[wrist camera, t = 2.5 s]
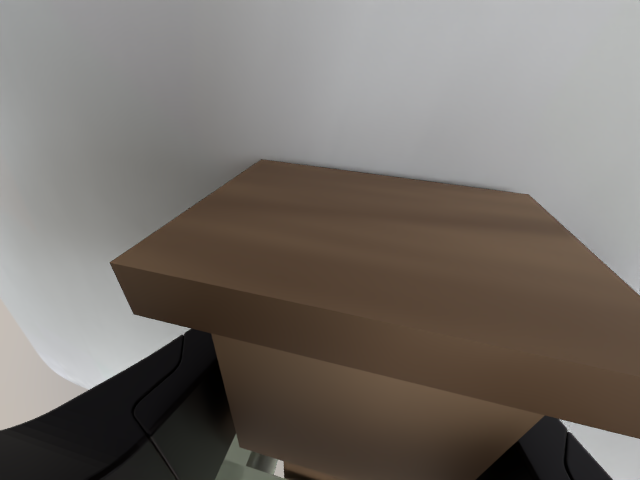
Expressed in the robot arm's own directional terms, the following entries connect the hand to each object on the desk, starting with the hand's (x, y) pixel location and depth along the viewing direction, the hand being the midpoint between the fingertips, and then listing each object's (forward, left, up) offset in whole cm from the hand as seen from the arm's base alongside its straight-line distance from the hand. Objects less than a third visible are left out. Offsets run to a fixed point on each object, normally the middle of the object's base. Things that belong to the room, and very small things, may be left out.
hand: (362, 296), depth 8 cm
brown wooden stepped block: (0, +6, -1) cm, 6 cm away
